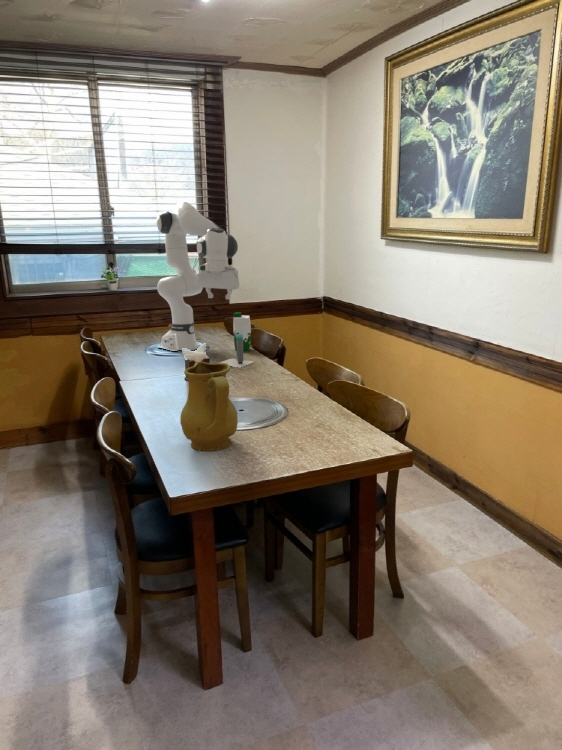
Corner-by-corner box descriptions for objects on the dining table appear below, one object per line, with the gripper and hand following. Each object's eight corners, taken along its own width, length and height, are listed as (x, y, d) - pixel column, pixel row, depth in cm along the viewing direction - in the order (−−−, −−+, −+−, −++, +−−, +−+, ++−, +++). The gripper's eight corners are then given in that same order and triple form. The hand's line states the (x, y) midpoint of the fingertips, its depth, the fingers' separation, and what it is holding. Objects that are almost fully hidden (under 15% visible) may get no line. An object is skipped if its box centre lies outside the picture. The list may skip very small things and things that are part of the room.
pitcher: (240, 430, 171) (235, 356, 163) (238, 457, 153) (231, 375, 145) (187, 433, 171) (179, 358, 163) (178, 460, 153) (169, 378, 145)
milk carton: (235, 348, 287) (233, 311, 281) (251, 348, 287) (250, 311, 281) (233, 352, 278) (232, 314, 273) (250, 351, 278) (249, 314, 273)
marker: (235, 363, 253) (234, 335, 250) (239, 362, 256) (238, 333, 252) (241, 364, 252) (240, 335, 248) (245, 363, 254) (244, 334, 251)
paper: (216, 364, 254) (216, 363, 254) (230, 359, 264) (230, 358, 264) (240, 368, 247) (240, 367, 247) (254, 362, 257) (254, 361, 257)
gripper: (241, 267, 228) (242, 299, 232) (204, 265, 238) (205, 296, 242) (233, 268, 223) (234, 301, 227) (195, 266, 233) (197, 298, 237)
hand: (219, 298), depth 235 cm, fingers open, 8 cm apart
